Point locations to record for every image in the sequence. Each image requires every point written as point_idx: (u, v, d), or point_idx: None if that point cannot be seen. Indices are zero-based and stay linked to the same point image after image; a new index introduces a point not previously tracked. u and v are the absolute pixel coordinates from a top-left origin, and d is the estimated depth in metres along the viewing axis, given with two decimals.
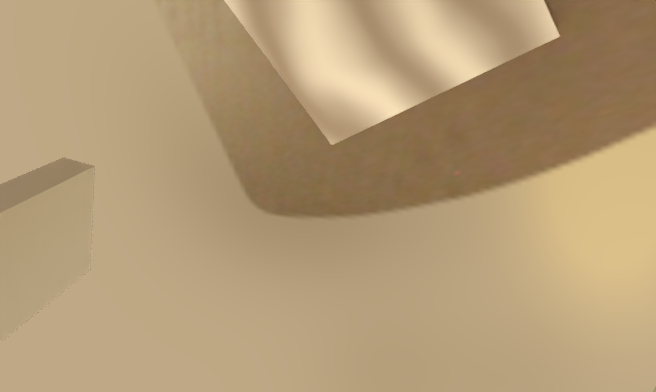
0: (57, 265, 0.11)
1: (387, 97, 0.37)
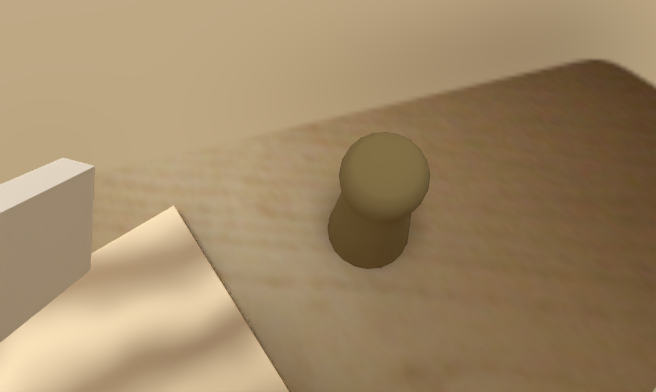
0: (57, 265, 0.11)
1: None
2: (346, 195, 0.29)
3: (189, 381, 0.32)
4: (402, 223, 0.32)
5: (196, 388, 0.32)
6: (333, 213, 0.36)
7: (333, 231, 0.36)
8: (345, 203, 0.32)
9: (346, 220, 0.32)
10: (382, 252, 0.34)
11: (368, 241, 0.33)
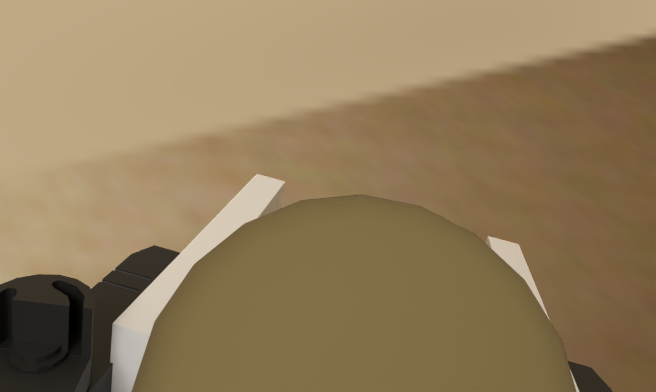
0: None
1: None
2: None
3: None
4: None
5: None
6: None
7: None
8: None
9: None
10: None
11: None
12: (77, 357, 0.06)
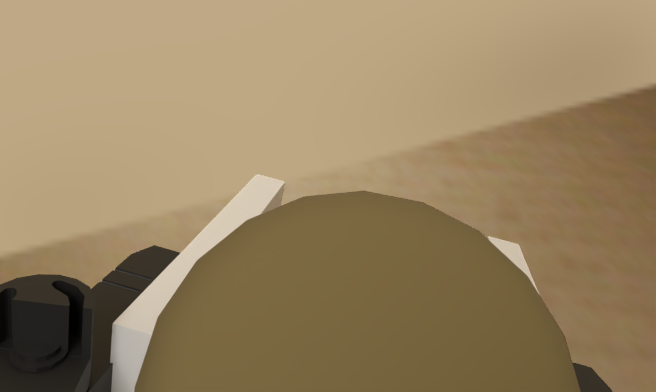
0: None
1: None
2: None
3: None
4: None
5: None
6: None
7: None
8: None
9: None
10: None
11: None
12: (77, 357, 0.06)
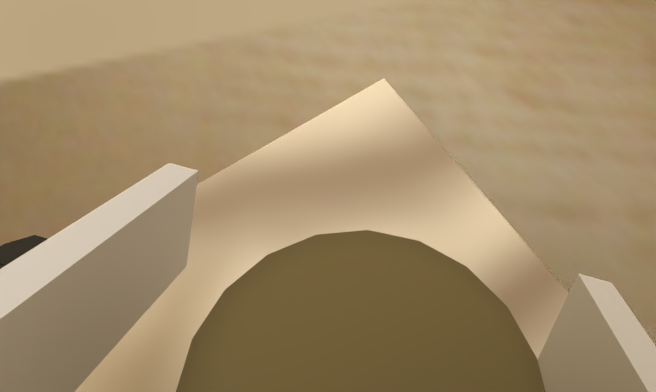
0: (167, 261, 0.12)
1: None
2: None
3: None
4: None
5: None
6: None
7: None
8: None
9: None
10: None
11: None
12: None
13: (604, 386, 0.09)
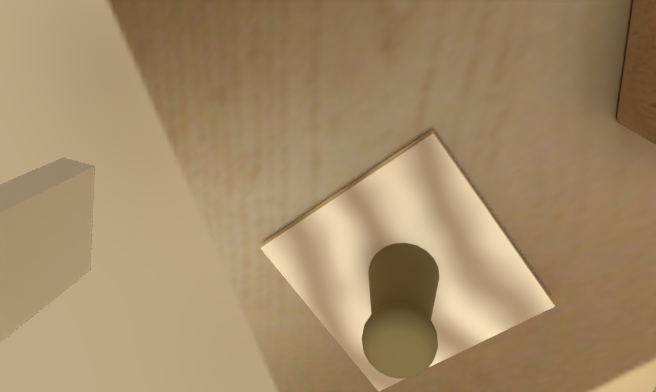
0: (57, 265, 0.11)
1: None
2: None
3: (395, 226, 0.42)
4: (423, 296, 0.37)
5: (400, 221, 0.42)
6: None
7: None
8: None
9: None
10: (435, 285, 0.40)
11: None
12: None
13: None
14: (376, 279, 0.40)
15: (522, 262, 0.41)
